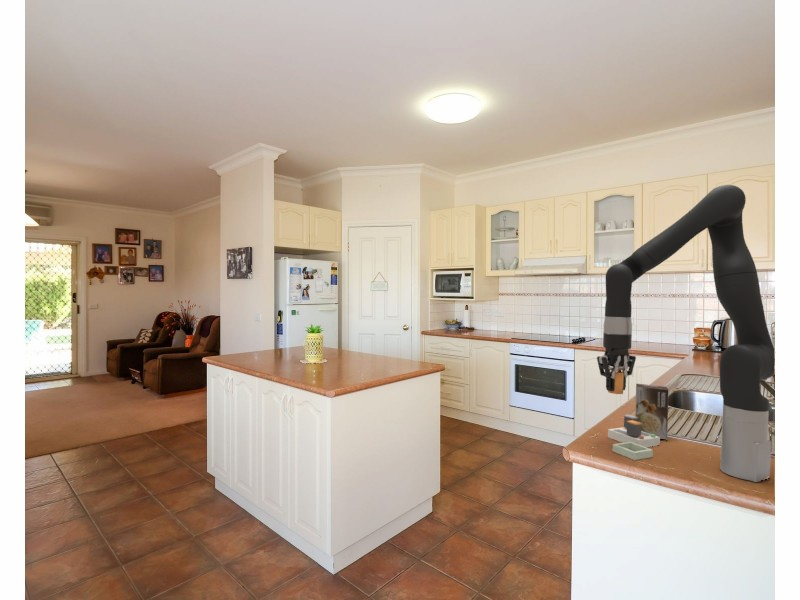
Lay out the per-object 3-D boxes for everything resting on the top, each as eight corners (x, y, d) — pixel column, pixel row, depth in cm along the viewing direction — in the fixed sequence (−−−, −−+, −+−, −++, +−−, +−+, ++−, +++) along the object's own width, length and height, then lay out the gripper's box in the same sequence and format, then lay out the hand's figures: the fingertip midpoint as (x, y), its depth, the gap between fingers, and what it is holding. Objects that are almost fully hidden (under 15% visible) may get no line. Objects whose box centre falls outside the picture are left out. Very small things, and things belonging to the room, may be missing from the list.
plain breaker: (637, 429, 140) (638, 417, 140) (632, 430, 139) (632, 417, 139) (629, 426, 143) (629, 414, 143) (623, 427, 142) (624, 415, 142)
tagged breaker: (641, 435, 134) (641, 422, 134) (635, 436, 133) (636, 423, 133) (632, 432, 137) (632, 420, 137) (626, 433, 136) (626, 420, 135)
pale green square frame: (652, 457, 124) (653, 449, 124) (634, 460, 121) (635, 452, 121) (630, 448, 131) (630, 441, 131) (612, 451, 128) (612, 444, 128)
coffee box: (666, 435, 144) (668, 386, 144) (667, 441, 139) (669, 390, 139) (634, 430, 149) (636, 383, 148) (634, 436, 143) (636, 386, 143)
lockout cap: (626, 393, 131) (626, 373, 131) (616, 394, 129) (617, 373, 129) (614, 390, 134) (615, 371, 134) (605, 391, 133) (605, 371, 133)
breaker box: (659, 445, 134) (660, 434, 134) (639, 448, 131) (639, 437, 131) (627, 434, 144) (628, 424, 144) (607, 437, 141) (608, 426, 141)
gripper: (623, 331, 138) (621, 386, 138) (589, 331, 132) (587, 389, 132) (645, 333, 131) (643, 391, 131) (610, 333, 125) (609, 394, 125)
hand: (615, 390), depth 132 cm, fingers closed on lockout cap, 4 cm apart
